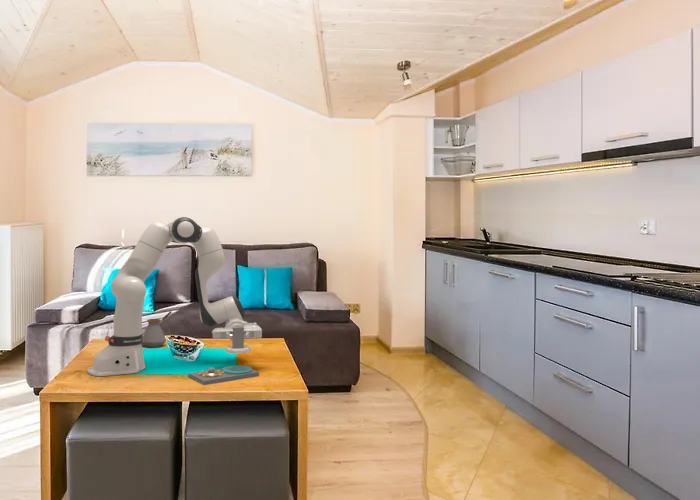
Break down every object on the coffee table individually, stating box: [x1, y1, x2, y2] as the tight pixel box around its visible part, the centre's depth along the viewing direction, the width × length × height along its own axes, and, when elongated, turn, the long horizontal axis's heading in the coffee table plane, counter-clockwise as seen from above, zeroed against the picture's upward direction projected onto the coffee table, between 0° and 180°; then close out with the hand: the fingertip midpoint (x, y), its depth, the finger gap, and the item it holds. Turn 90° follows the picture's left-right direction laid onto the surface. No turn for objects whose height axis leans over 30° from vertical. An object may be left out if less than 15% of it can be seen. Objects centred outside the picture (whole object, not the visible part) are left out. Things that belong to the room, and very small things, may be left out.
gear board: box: [187, 364, 260, 386], centre depth 245 cm, size 24×14×4 cm, turn 129°
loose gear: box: [224, 326, 252, 355], centre depth 248 cm, size 10×10×10 cm
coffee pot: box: [143, 311, 174, 348], centre depth 303 cm, size 21×12×15 cm, turn 164°
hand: (238, 336), depth 247 cm, fingers closed on loose gear, 4 cm apart
